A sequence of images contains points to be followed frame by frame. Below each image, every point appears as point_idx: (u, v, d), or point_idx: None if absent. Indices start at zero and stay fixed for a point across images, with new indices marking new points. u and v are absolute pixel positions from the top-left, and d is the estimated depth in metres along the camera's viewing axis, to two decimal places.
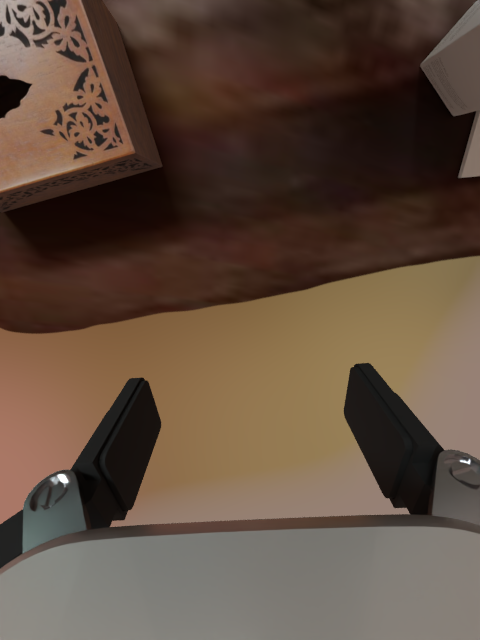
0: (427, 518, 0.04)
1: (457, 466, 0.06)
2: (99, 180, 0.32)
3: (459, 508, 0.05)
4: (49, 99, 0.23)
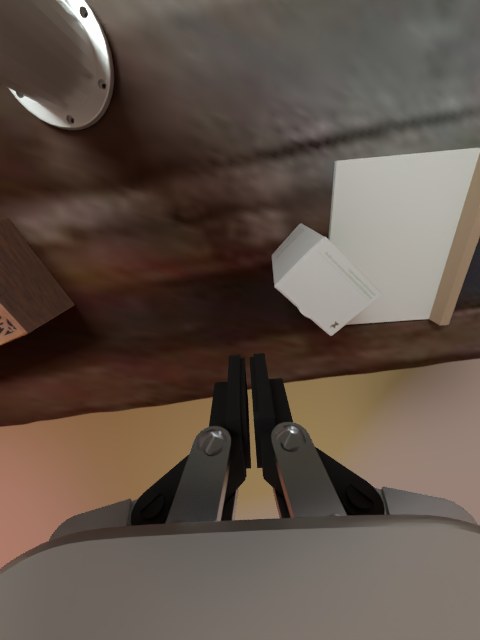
0: (427, 518, 0.04)
1: (284, 438, 0.07)
2: None
3: (299, 476, 0.06)
4: None
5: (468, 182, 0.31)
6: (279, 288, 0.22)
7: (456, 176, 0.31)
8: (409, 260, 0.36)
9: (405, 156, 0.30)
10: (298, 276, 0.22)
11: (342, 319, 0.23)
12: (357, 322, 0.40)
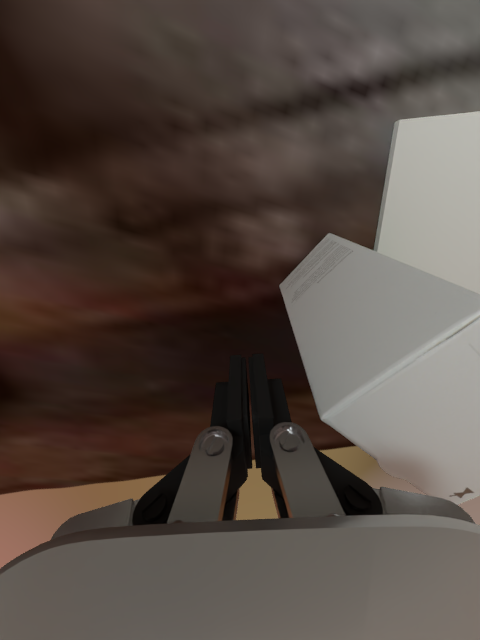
0: (427, 518, 0.04)
1: (282, 438, 0.07)
2: None
3: (298, 476, 0.06)
4: None
5: None
6: (334, 424, 0.08)
7: None
8: None
9: None
10: (392, 401, 0.08)
11: None
12: None
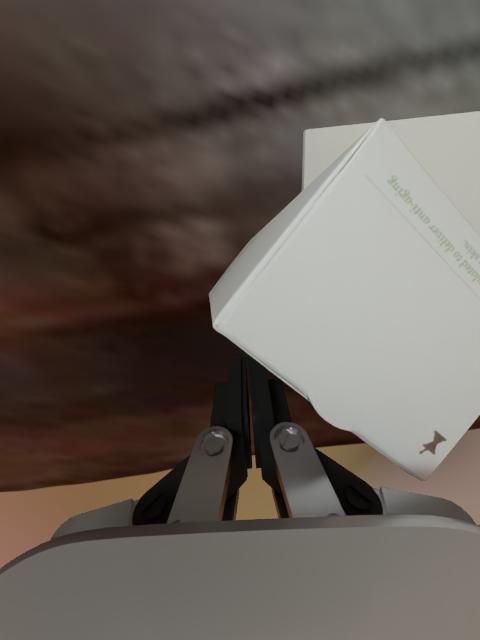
0: (427, 518, 0.04)
1: (282, 438, 0.07)
2: None
3: (298, 476, 0.06)
4: None
5: None
6: (233, 331, 0.06)
7: None
8: None
9: (430, 120, 0.16)
10: (301, 276, 0.06)
11: (455, 420, 0.07)
12: None
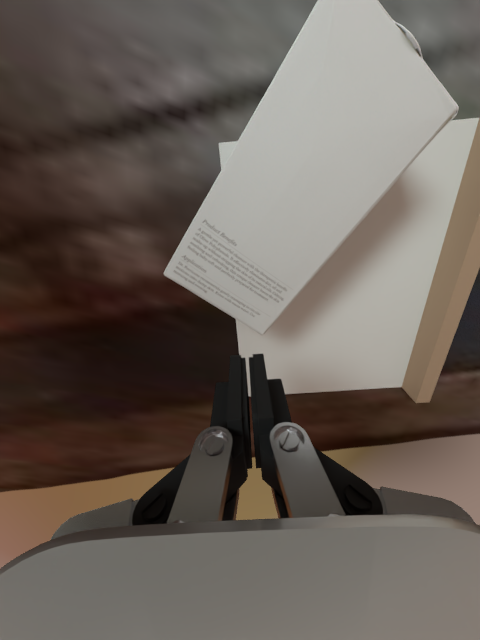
0: (427, 518, 0.04)
1: (282, 438, 0.07)
2: None
3: (298, 476, 0.06)
4: None
5: (457, 181, 0.18)
6: None
7: (435, 171, 0.17)
8: (365, 306, 0.22)
9: None
10: None
11: None
12: (294, 391, 0.27)
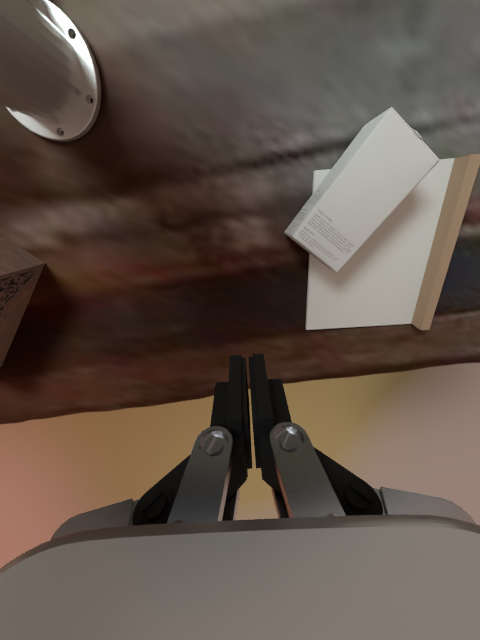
0: (427, 518, 0.04)
1: (282, 438, 0.07)
2: (16, 306, 0.38)
3: (298, 476, 0.06)
4: None
5: (443, 191, 0.32)
6: (394, 110, 0.24)
7: (431, 185, 0.32)
8: (389, 266, 0.37)
9: None
10: None
11: None
12: (340, 326, 0.41)
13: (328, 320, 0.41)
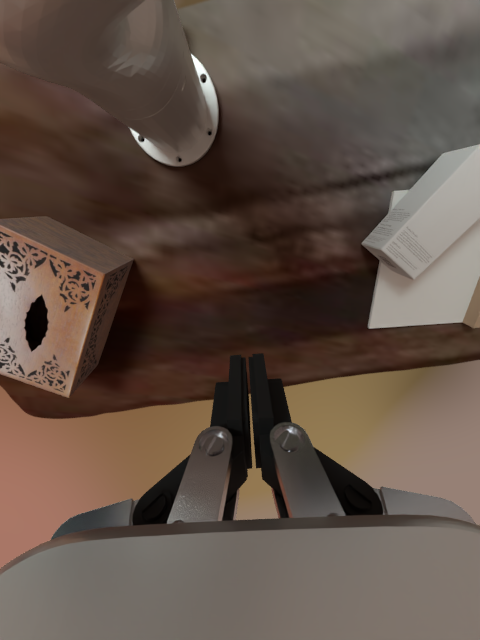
0: (427, 518, 0.04)
1: (282, 438, 0.07)
2: (114, 303, 0.42)
3: (298, 476, 0.06)
4: (53, 292, 0.34)
5: None
6: None
7: None
8: (449, 272, 0.42)
9: None
10: None
11: None
12: (399, 325, 0.46)
13: (389, 320, 0.46)
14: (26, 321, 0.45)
